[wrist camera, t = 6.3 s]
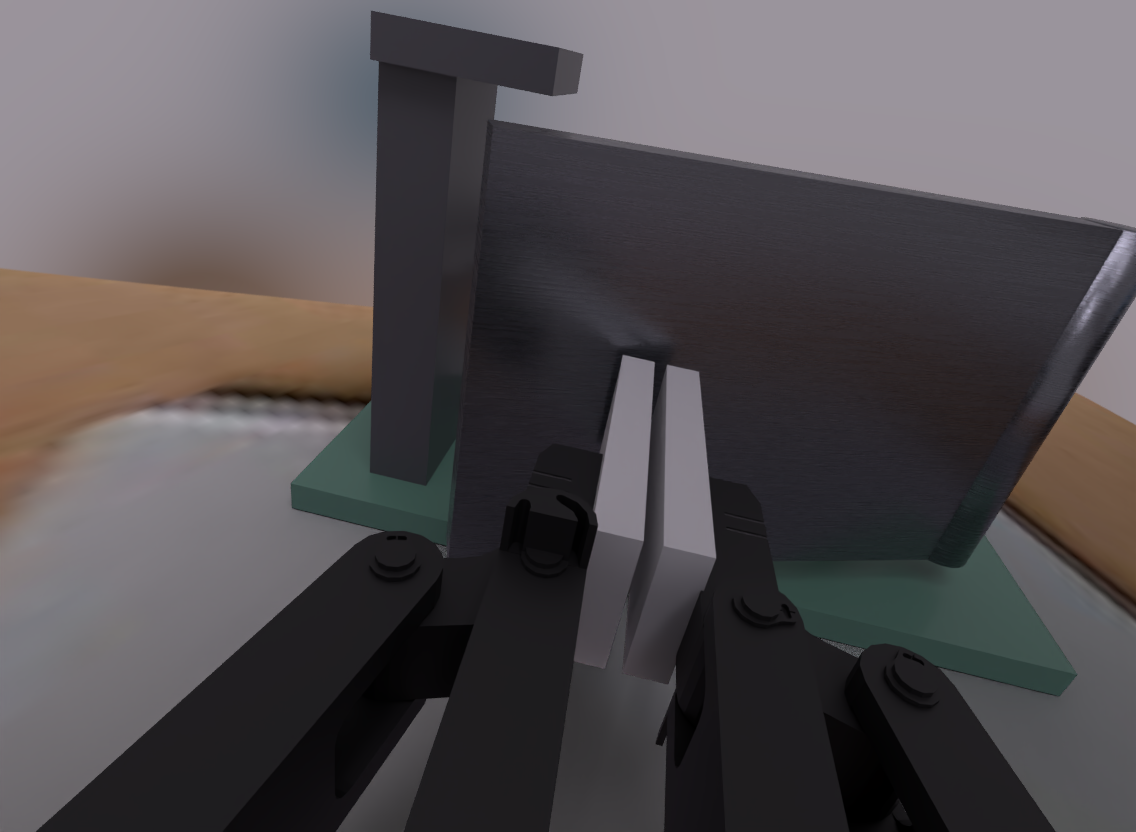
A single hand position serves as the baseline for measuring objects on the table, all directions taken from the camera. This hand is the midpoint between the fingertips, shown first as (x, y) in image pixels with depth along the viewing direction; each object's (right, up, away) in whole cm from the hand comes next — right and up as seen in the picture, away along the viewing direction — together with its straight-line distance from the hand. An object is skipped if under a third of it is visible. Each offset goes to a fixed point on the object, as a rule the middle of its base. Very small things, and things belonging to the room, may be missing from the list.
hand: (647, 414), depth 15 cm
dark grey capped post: (-6, -2, +8) cm, 10 cm away
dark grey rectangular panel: (+3, -4, +5) cm, 7 cm away
